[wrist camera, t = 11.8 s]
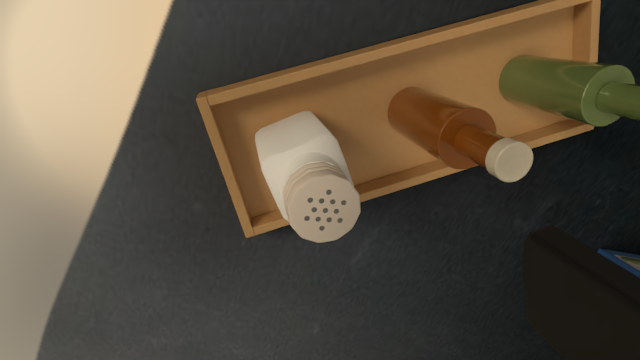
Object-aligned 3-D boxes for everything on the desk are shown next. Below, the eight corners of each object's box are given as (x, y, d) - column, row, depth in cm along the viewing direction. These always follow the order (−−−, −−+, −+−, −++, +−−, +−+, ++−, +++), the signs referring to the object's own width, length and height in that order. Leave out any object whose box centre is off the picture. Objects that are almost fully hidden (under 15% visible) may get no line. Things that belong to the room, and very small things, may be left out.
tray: (244, 224, 27) (246, 238, 26) (197, 92, 24) (195, 98, 22) (572, 122, 30) (594, 129, 28) (576, -10, 26) (601, -13, 24)
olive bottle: (499, 108, 28) (644, 154, 18) (497, 61, 26) (651, 84, 17) (540, 95, 28) (704, 134, 18) (540, 49, 27) (717, 64, 17)
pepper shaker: (310, 105, 25) (354, 150, 16) (331, 161, 26) (381, 229, 18) (250, 129, 25) (262, 189, 16) (275, 184, 26) (298, 265, 18)
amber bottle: (391, 140, 27) (482, 207, 17) (383, 93, 26) (477, 138, 16) (435, 127, 27) (549, 185, 17) (429, 80, 26) (549, 115, 16)
